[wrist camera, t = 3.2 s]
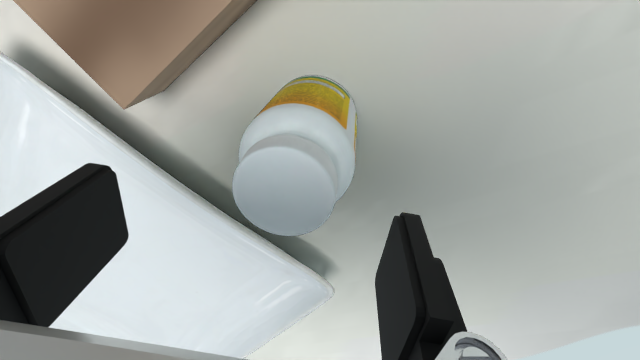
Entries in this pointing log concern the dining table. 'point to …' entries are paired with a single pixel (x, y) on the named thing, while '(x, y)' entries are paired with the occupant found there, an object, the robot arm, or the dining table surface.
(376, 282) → the robot arm
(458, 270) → the dining table surface
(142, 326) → the square plate
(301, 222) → the supplement bottle
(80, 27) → the walnut socket block
